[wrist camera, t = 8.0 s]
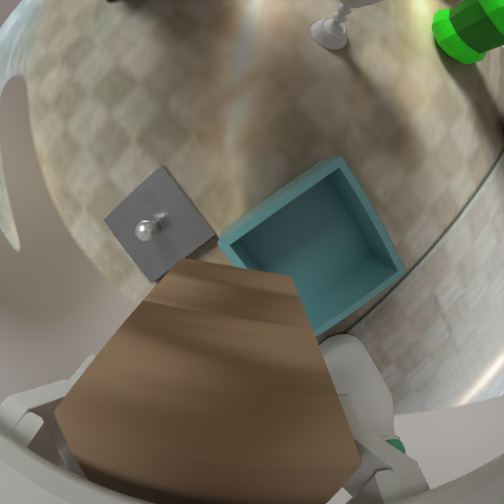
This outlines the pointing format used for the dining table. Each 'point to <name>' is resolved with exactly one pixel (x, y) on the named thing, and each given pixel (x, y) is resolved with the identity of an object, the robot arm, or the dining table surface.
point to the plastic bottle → (470, 29)
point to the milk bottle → (361, 385)
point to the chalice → (336, 25)
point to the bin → (318, 242)
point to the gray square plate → (158, 224)
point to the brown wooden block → (212, 397)
